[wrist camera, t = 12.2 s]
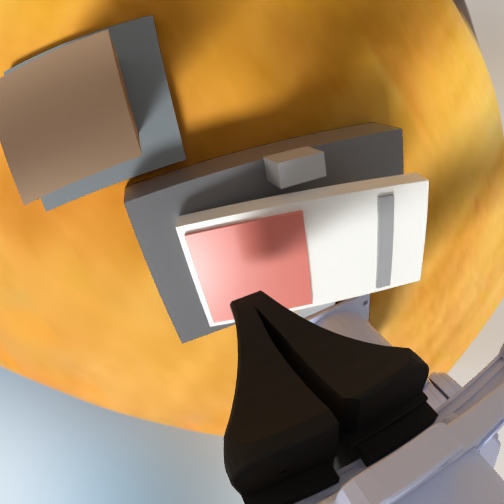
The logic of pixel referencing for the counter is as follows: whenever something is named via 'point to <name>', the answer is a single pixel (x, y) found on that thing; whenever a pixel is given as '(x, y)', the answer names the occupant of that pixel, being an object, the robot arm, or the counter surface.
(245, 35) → the counter surface
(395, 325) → the counter surface
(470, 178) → the counter surface
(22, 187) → the brown rectangular block
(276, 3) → the counter surface
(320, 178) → the switch housing
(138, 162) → the mat
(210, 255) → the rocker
